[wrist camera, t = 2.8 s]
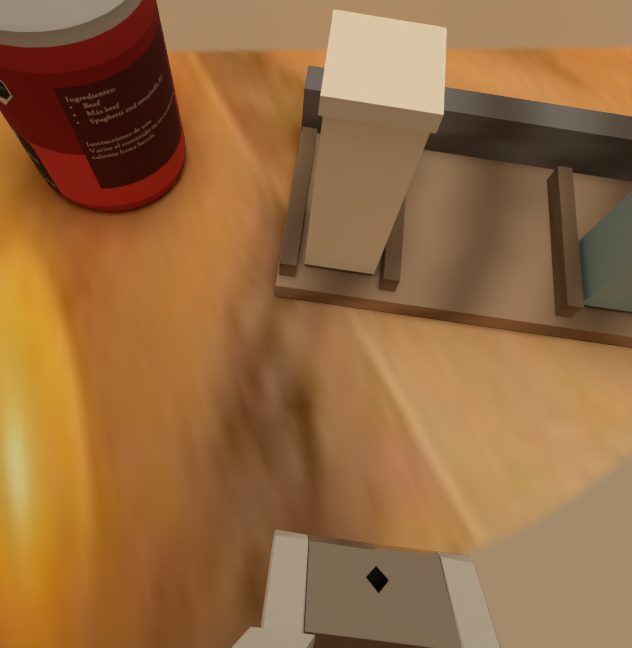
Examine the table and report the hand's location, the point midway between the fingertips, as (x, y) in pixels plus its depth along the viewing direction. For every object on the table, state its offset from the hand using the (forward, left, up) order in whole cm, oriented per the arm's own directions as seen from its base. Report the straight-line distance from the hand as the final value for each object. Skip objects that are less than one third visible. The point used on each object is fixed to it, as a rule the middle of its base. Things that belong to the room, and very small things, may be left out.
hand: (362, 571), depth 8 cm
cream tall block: (0, +15, -14) cm, 20 cm away
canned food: (-13, +19, -16) cm, 28 cm away
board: (+7, +18, -15) cm, 24 cm away
